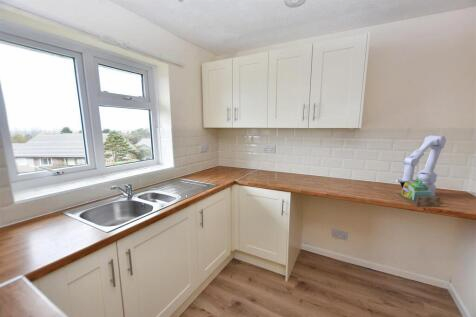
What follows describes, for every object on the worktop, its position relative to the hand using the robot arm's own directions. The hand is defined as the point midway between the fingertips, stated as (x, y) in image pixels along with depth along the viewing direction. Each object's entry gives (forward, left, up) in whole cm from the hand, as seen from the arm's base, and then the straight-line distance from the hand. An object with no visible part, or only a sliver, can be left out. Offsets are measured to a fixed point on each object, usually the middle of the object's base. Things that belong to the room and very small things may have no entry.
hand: (404, 192), depth 148 cm
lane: (-1, +8, -3) cm, 8 cm away
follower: (-1, +12, -3) cm, 13 cm away
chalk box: (-1, +5, -3) cm, 6 cm away
